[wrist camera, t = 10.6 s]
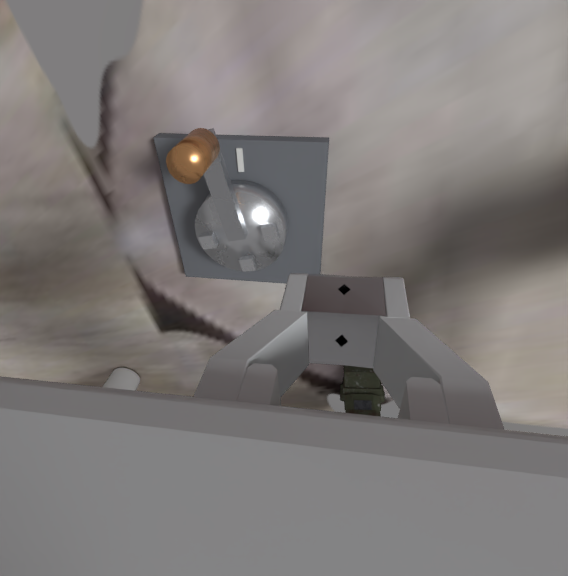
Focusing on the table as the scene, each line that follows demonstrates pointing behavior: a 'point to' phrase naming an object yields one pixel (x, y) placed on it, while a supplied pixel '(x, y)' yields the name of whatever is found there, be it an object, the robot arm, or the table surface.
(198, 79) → the table surface
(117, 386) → the drinking glass
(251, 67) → the table surface
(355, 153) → the table surface
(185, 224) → the housing plate
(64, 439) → the robot arm
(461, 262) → the table surface
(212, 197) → the lever
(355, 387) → the mechanical leg
